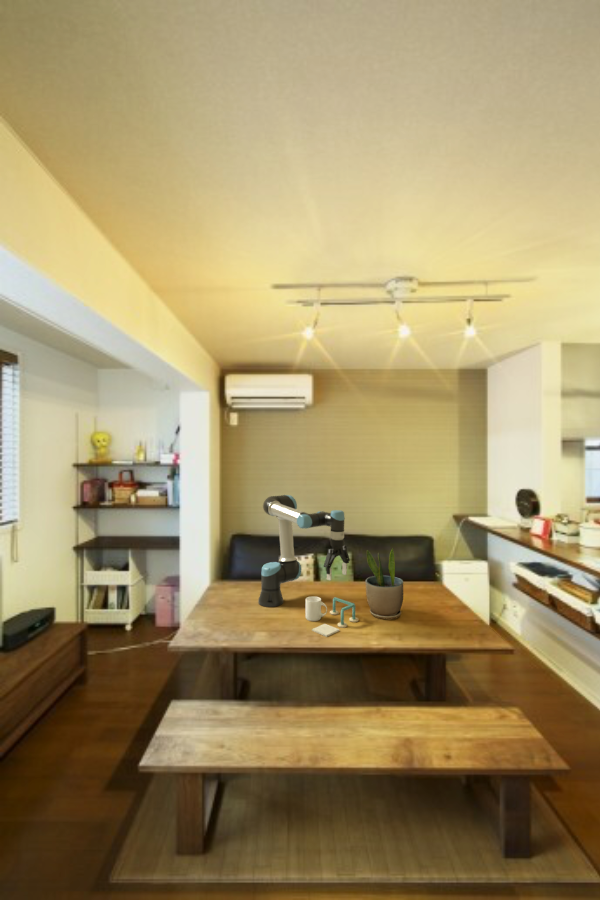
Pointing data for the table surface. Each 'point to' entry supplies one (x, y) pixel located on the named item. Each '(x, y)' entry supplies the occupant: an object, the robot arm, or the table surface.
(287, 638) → the table surface
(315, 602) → the mug
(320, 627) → the coaster
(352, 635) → the table surface
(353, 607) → the wire course
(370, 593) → the potted plant
